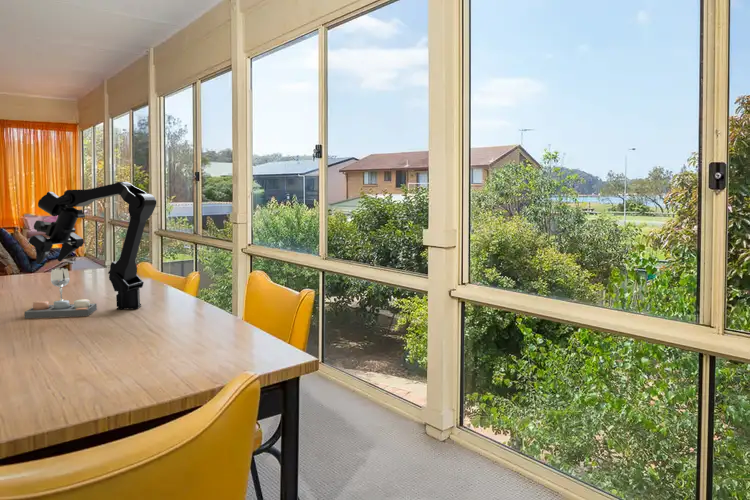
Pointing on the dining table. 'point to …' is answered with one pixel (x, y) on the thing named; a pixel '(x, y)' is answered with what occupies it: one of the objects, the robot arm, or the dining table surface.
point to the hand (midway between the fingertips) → (48, 262)
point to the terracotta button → (41, 305)
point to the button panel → (60, 312)
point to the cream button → (81, 303)
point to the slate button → (61, 304)
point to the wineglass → (60, 278)
